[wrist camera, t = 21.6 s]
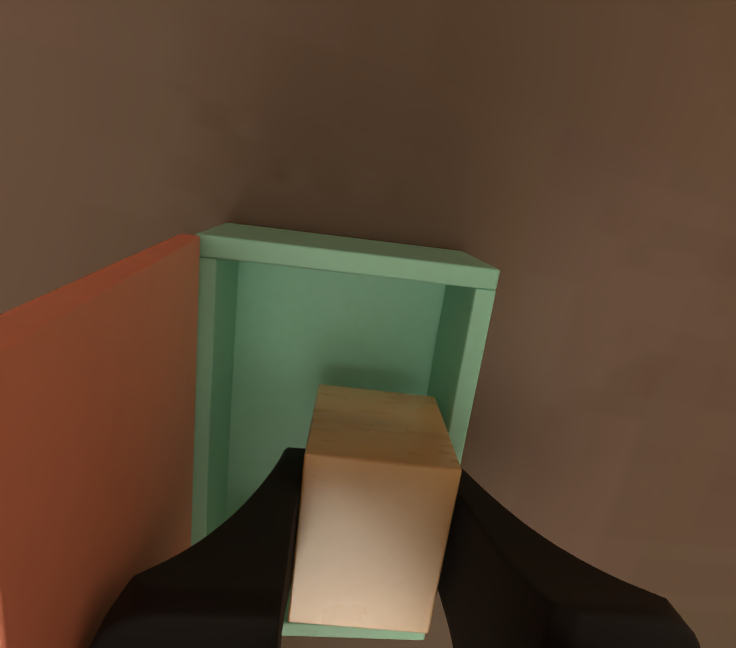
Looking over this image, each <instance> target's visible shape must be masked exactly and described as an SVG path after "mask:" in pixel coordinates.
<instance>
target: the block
mask: <svg viewBox="0 0 736 648" xmlns="http://www.w3.org/2000/svg"><path fill="white" fill-rule="evenodd" d="M461 472H462V469H461V467H460V464H459V461H458V459H457V456H456V453H455V450H454V448H453V445H452V442H451V440H450V437H449V434H448V432H447V429H446V426H445V423H444V421H443V418H442V415H441V413H440V410H439V407H438V405H437V402H436V399H435V397H432V396H423V395H414V394H405V393H396V392H387V391H378V390H369V389H360V388H350V387H341V386H332V385H323V384H320V385H319V386H318V391H317V396H316V400H315V405H314V410H313V415H312V420H311V425H310V429H309V434H308V439H307V444H306V449H305V454H304V462H303V472H302V482H301V492H300V502H299V511H298V521H297V531H296V541H295V551H294V560H293V570H292V580H291V590H290V600H289V609H288V622H294V623H306V624H318V625H330V626H342V627H355V628H367V629H379V630H391V631H403V632H415V633H428V632H429V628H430V623H431V618H432V613H433V608H434V604H435V599H436V594H437V589H438V584H439V579H440V574H441V570H442V565H443V560H444V555H445V550H446V545H447V540H448V535H449V531H450V526H451V521H452V516H453V511H454V506H455V501H456V497H457V492H458V487H459V482H460V477H461Z"/></svg>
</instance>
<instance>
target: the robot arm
mask: <svg viewBox="0 0 736 648" xmlns="http://www.w3.org/2000/svg"><path fill="white" fill-rule="evenodd" d="M304 454H305V448H292V447H288V448H286V449H285V450H284V451H283V453H282V455H281V457H280V459H279V461H278V462H277V464H276V465H275V467H274V468H273V470H272V471H271V472H270V474H269V475H268V476H267V478H266V479H265V480H264V482H263V483H262V484H261V485H260V487H259V488H258V489H257V490H256V491H255V492H254V493H253V494H252V496H251V497H250V498H249V499H248V500H247V501H246V502H245V503H244V504H243V505H242V506H241V507H240V508H239V509H238V510H237V511H236V512H235V513H234V514H233V515H232V516H231V517H229V518H228V519H227V520H226V521H225V522H224V523H223V524H221V525H220V526H219V527H217V528H216V529H215V530H214V531H212V532H211V533H210V534H209V535H207V536H206V537H204V538H203V539H202V540H200V541H199V542H197V543H196V544H194V545H193V546H191V547H189V548H188V549H186V550H184V551H183V552H181V553H179V554H177V555H176V556H174V557H172V558H170V559H168V560H166V561H164V562H162V563H160V564H158V565H156V566H154V567H152V568H149V569H147V570H145V571H143V572H141V573H139V574H136V575H134V576H133V577H132V578H131V580H130V581H129V582H128V584H127V585H126V586H125V588H124V589H123V590H122V592H121V593H120V595H119V596H118V598H117V599H116V601H115V602H114V603H113V605H112V606H111V608H110V609H109V611H108V612H107V614H106V616H105V617H104V619H103V621H102V623H101V625H100V627H99V629H98V631H97V633H96V635H95V637H94V639H93V641H92V643H91V645H90V646H89V648H280V646H281V637H282V629H283V622H284V616H285V611H286V606H287V601H288V596H289V591H290V586H291V580H292V570H293V560H294V551H295V541H296V531H297V521H298V511H299V502H300V492H301V482H302V472H303V462H304ZM461 469H462V468H461ZM438 591H439V595H440V598H441V601H442V605H443V608H444V612H445V615H446V618H447V622H448V626H449V630H450V634H451V639H452V644H453V648H700V644H699V642H698V640H697V638H696V636H695V634H694V632H693V631H692V630H691V629H690V627H689V626H688V625H687V624H686V622H685V621H684V620H683V619H682V618H681V616H680V615H679V614H678V613H677V611H676V610H675V609H674V608H673V606H672V605H671V604H670V603H669V601H668V600H667V599H666V598H663V597H661V596H658V595H656V594H654V593H651V592H649V591H646V590H644V589H641V588H639V587H636V586H634V585H631V584H629V583H627V582H624V581H622V580H620V579H618V578H616V577H614V576H611V575H609V574H607V573H605V572H603V571H601V570H599V569H597V568H595V567H593V566H591V565H589V564H588V563H586V562H584V561H582V560H580V559H578V558H577V557H575V556H573V555H571V554H570V553H568V552H566V551H565V550H563V549H561V548H560V547H558V546H556V545H555V544H553V543H552V542H550V541H549V540H547V539H546V538H544V537H543V536H541V535H540V534H538V533H537V532H536V531H534V530H533V529H531V528H530V527H528V526H527V525H526V524H524V523H523V522H522V521H520V520H519V519H518V518H517V517H515V516H514V515H513V514H512V513H511V512H509V511H508V510H507V509H506V508H504V507H503V506H502V505H501V504H500V503H499V502H498V501H496V500H495V499H494V498H493V497H492V496H491V495H490V494H489V493H487V492H486V491H485V490H484V489H483V488H482V487H481V486H480V485H479V484H478V483H477V482H476V481H475V480H474V479H473V478H472V477H470V476H469V475H468V474H467V473H466V472H465V471H464V470H463V469H462V472H461V477H460V482H459V487H458V492H457V497H456V501H455V506H454V511H453V516H452V521H451V526H450V531H449V535H448V540H447V545H446V550H445V555H444V560H443V565H442V570H441V574H440V579H439V584H438Z"/></svg>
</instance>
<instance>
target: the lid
mask: <svg viewBox="0 0 736 648" xmlns="http://www.w3.org/2000/svg"><path fill="white" fill-rule="evenodd" d="M199 255H200V237H199V236H198V235H189V234H179V235H177V236H175V237H172V238H170V239H168V240H166V241H163V242H161V243H159V244H157V245H155V246H152V247H150V248H148V249H146V250H143V251H141V252H139V253H137V254H134V255H132V256H130V257H128V258H125V259H123V260H121V261H119V262H116V263H114V264H112V265H110V266H107V267H105V268H103V269H101V270H98V271H96V272H94V273H92V274H89V275H87V276H85V277H83V278H81V279H78V280H76V281H74V282H72V283H69V284H67V285H65V286H63V287H60V288H58V289H56V290H54V291H51V292H49V293H47V294H45V295H42V296H40V297H38V298H36V299H33V300H31V301H29V302H27V303H24V304H22V305H20V306H18V307H16V308H13V309H11V310H9V311H7V312H4V313H2V314H0V648H89V646H90V645H91V643H92V641H93V639H94V637H95V635H96V633H97V631H98V629H99V627H100V625H101V623H102V621H103V619H104V617H105V616H106V614H107V612H108V611H109V609H110V608H111V606H112V605H113V603H114V602H115V601H116V599H117V598H118V596H119V595H120V593H121V592H122V590H123V589H124V588H125V586H126V585H127V584H128V582H129V581H130V580H131V578H132V577H133V576H134V575H136V574H139V573H141V572H143V571H145V570H147V569H149V568H152V567H154V566H156V565H158V564H160V563H162V562H164V561H166V560H168V559H170V558H172V557H174V556H176V555H177V554H179V553H181V552H183V551H184V550H186V549H188V548H189V547H191V526H192V492H193V458H194V424H195V391H196V357H197V323H198V289H199Z"/></svg>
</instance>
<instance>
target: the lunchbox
mask: <svg viewBox="0 0 736 648" xmlns="http://www.w3.org/2000/svg"><path fill="white" fill-rule="evenodd" d="M195 235H198V236H199V237H200V255H199V289H198V323H197V357H196V391H195V424H194V458H193V492H192V526H191V546H193V545H194V544H196V543H197V542H199V541H200V540H202V539H203V538H204V537H206V536H207V535H209V534H210V533H211V532H212V531H214V530H215V529H216V528H217V527H219V526H220V525H221V524H223V523H224V522H225V521H226V520H227V519H228V518H229V517H231V516H232V515H233V514H234V513H235V512H236V511H237V510H238V509H239V508H240V507H241V506H242V505H243V504H244V503H245V502H246V501H247V500H248V499H249V498H250V497H251V496H252V494H253V493H254V492H255V491H256V490H257V489H258V488H259V487H260V485H261V484H262V483H263V482H264V480H265V479H266V478H267V476H268V475H269V474H270V472H271V471H272V470H273V468H274V467H275V465H276V464H277V462H278V461H279V459H280V457H281V455H282V453H283V451H284V450H285V449H286V448H288V447H292V448H305V449H306V444H307V439H308V434H309V429H310V425H311V420H312V415H313V410H314V405H315V400H316V396H317V391H318V386H319V385H320V384H323V385H332V386H341V387H350V388H360V389H369V390H378V391H387V392H396V393H405V394H414V395H423V396H432V397H435V399H436V402H437V405H438V407H439V410H440V413H441V415H442V418H443V421H444V423H445V426H446V429H447V432H448V434H449V437H450V440H451V442H452V445H453V448H454V450H455V453H456V456H457V459H458V461H459V464H460V463H461V458H462V454H463V449H464V444H465V439H466V434H467V429H468V424H469V420H470V415H471V410H472V405H473V400H474V395H475V390H476V386H477V381H478V376H479V371H480V366H481V361H482V356H483V352H484V347H485V342H486V337H487V332H488V327H489V322H490V317H491V313H492V308H493V303H494V298H495V293H496V292H495V289H496V287H497V282H498V278H499V273H500V271H499V269H497V268H495V267H493V266H491V265H489V264H487V263H485V262H483V261H481V260H479V259H477V258H475V257H473V256H471V255H469V254H467V253H465V252H463V251H457V250H449V249H440V248H432V247H424V246H416V245H407V244H399V243H391V242H383V241H375V240H366V239H358V238H350V237H342V236H333V235H325V234H317V233H309V232H301V231H292V230H284V229H276V228H268V227H259V226H251V225H243V224H235V223H225V224H222V225H219V226H216V227H213V228H211V229H208V230H205V231H202V232H199V233H196V234H195ZM290 590H291V586H290ZM289 600H290V591H289V596H288V601H287V606H286V611H285V616H284V622H283V629H282V636H313V637H344V638H375V639H406V640H424V637H425V633H415V632H403V631H391V630H379V629H367V628H355V627H342V626H330V625H318V624H306V623H294V622H288V609H289Z"/></svg>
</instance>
